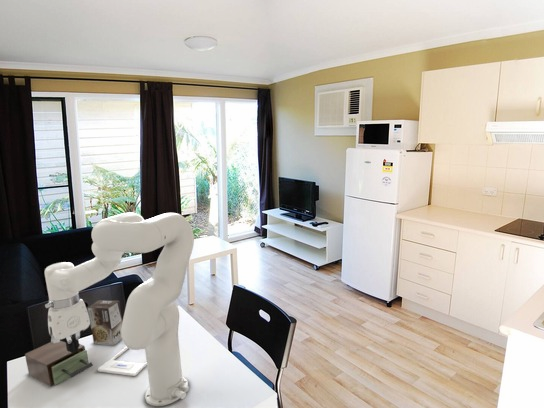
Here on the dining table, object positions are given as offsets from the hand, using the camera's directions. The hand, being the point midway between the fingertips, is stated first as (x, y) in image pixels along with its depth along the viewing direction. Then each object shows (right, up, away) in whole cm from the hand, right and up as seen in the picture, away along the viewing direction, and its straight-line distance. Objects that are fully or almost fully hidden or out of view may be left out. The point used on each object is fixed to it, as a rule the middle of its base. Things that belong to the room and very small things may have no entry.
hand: (73, 350), depth 117 cm
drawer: (-5, -10, +5) cm, 12 cm away
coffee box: (-4, -6, +25) cm, 26 cm away
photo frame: (+12, -9, +14) cm, 21 cm away
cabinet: (-11, -10, +7) cm, 16 cm away
